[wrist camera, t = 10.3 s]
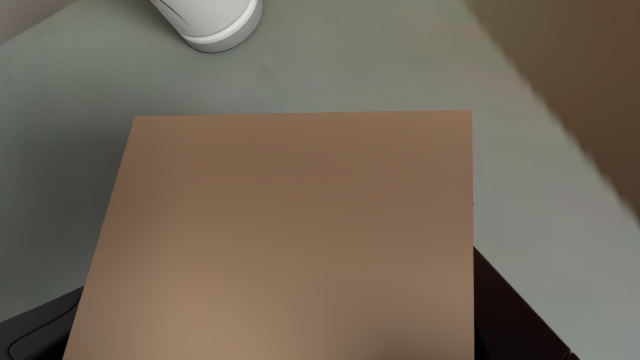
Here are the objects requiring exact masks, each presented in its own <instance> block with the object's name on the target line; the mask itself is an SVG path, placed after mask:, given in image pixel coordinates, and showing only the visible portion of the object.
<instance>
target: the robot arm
mask: <svg viewBox="0 0 640 360" xmlns="http://www.w3.org/2000/svg"><path fill="white" fill-rule="evenodd" d="M473 275H474V360H580V359H579V358H578V357H577V355H576V354H574V353H571V350H570V348H569V347H568V346H567V345H566V344H565V343H564V342H563V341H562V340H561V339H560V338H559V337H558V335H557V334H556V333H555V332H554V331H553V330H552V329H551V328H550V327H549V326H548V325H547V324H546V323H545V322H544V320H543V319H542V318H541V317H540V316H539V315H538V314H537V313H536V312H535V311H534V310H533V309H532V308H531V307H530V305H529V304H528V303H527V302H526V301H525V300H524V299H523V298H522V297H521V296H520V295H519V294H518V293H517V292H516V290H515V289H514V288H513V287H512V286H511V285H510V284H509V283H508V282H507V281H506V280H505V279H504V278H503V277H502V276H501V274H500V273H499V272H498V271H497V270H496V269H495V268H494V267H493V266H492V265H491V264H490V263H489V262H488V261H487V259H486V258H485V257H484V256H483V255H482V254H481V253H480V252H479V251H478V250H477V249H476V248H475V247H474V246H473ZM83 289H84V286H82V287H80V288H78V289H76V290H74V291H72V292H69V293H67V294H65V295H63V296H61V297H58V298H56V299H54V300H52V301H50V302H47V303H45V304H43V305H41V306H38V307H36V308H34V309H31V310H29V311H26V312H24V313H22V314H19V315H17V316H15V317H12V318H10V319H7V320H5V321H3V322H0V360H63V356H64V353H65V349H66V346H67V343H68V339H69V336H70V333H71V329H72V326H73V323H74V319H75V316H76V312H77V309H78V306H79V302H80V299H81V296H82V292H83Z"/></svg>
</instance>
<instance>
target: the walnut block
mask: <svg viewBox="0 0 640 360" xmlns="http://www.w3.org/2000/svg"><path fill="white" fill-rule="evenodd" d="M63 360H474V275H473V169H472V110H437V111H382V112H327V113H272V114H216V115H161V116H135V117H134V120H133V124H132V127H131V130H130V134H129V137H128V141H127V144H126V147H125V151H124V154H123V157H122V161H121V164H120V168H119V171H118V174H117V178H116V181H115V184H114V188H113V191H112V194H111V198H110V201H109V205H108V208H107V211H106V215H105V218H104V221H103V225H102V228H101V232H100V235H99V238H98V242H97V245H96V248H95V252H94V255H93V258H92V262H91V265H90V269H89V272H88V275H87V279H86V282H85V285H84V289H83V292H82V296H81V299H80V302H79V306H78V309H77V312H76V316H75V319H74V323H73V326H72V329H71V333H70V336H69V339H68V343H67V346H66V349H65V353H64V356H63Z"/></svg>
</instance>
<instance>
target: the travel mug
mask: <svg viewBox="0 0 640 360" xmlns="http://www.w3.org/2000/svg"><path fill="white" fill-rule="evenodd" d="M150 1H151V2H152V3H153V4H154V5H155V6H156V7H157V9H158V10H159V11H160V12H161V13H162V14H163V15H164V16H165V18H166V19H167V20H168V21H169V22H170V23H171V24H172V26H173V27H174V28H175V29H177V31H178V32H179V34H180V35H181V36H182V37H183V38H184V39H185V40H186V42H187V43H188V44H189V45H190V46H192V47H193V48H194V49H196V50H199V51H202V52H207V53H216V52H222V51H225V50H228V49H231V48H233V47H235V46H237V45H238V44H240V43H241V42H243V41H244V40H245V39H246V38H247V37H248V36H249V35H250V34H251V33H252V32H253V31H254V29H255V28H256V27H257V25H258V23H259V21H260V19H261V15H262V12H263V0H150Z"/></svg>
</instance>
